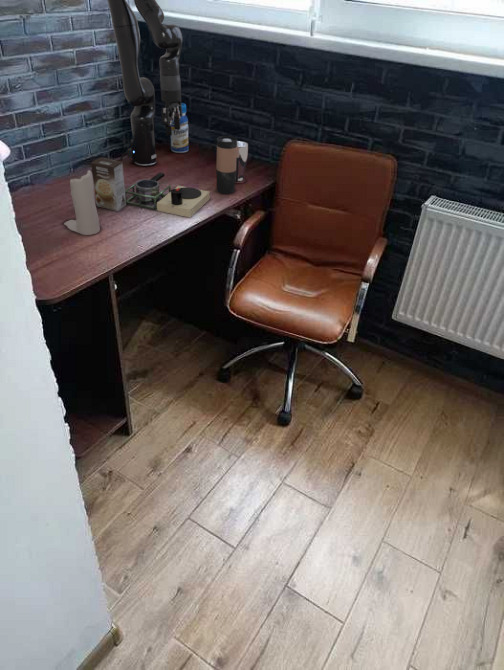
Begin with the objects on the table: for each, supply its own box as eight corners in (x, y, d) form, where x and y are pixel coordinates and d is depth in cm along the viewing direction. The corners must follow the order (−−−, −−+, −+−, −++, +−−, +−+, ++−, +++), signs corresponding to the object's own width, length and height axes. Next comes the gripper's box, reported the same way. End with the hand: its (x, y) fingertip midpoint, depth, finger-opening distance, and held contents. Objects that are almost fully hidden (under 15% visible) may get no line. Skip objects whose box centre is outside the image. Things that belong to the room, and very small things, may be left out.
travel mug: (238, 189, 199) (240, 138, 187) (229, 195, 193) (231, 143, 181) (221, 185, 201) (222, 134, 189) (212, 191, 196) (213, 139, 183)
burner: (169, 196, 183) (169, 194, 182) (181, 186, 190) (181, 185, 190) (194, 201, 181) (194, 200, 180) (205, 191, 188) (205, 190, 188)
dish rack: (124, 203, 182) (123, 191, 179) (141, 191, 192) (140, 179, 189) (155, 210, 180) (155, 197, 176) (171, 197, 189) (171, 185, 186)
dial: (179, 206, 176) (179, 193, 173) (169, 204, 177) (168, 191, 174) (184, 201, 179) (184, 189, 176) (174, 199, 180) (173, 187, 177)
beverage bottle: (185, 146, 235) (184, 101, 223) (191, 152, 229) (190, 106, 217) (168, 148, 232) (166, 102, 220) (174, 154, 226) (172, 107, 214)
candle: (74, 217, 171) (64, 159, 158) (104, 229, 166) (96, 170, 153) (58, 225, 166) (46, 166, 154) (88, 237, 161) (79, 176, 148)
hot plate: (188, 218, 176) (188, 210, 174) (155, 211, 178) (155, 203, 176) (209, 199, 190) (209, 191, 188) (178, 192, 193) (178, 184, 191)
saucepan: (132, 202, 183) (131, 185, 179) (153, 187, 196) (152, 170, 192) (153, 206, 182) (152, 189, 178) (172, 191, 194) (172, 174, 190)
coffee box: (95, 206, 179) (89, 162, 169) (105, 200, 184) (99, 156, 174) (118, 211, 177) (113, 167, 167) (127, 204, 182) (123, 161, 172)
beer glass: (247, 178, 209) (249, 141, 199) (245, 184, 203) (247, 147, 194) (231, 176, 209) (232, 140, 200) (228, 182, 204) (230, 145, 194)
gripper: (168, 82, 192) (171, 126, 202) (153, 90, 181) (156, 136, 191) (187, 84, 190) (188, 128, 200) (172, 92, 180) (175, 138, 190)
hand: (173, 132), depth 196 cm, fingers open, 8 cm apart
